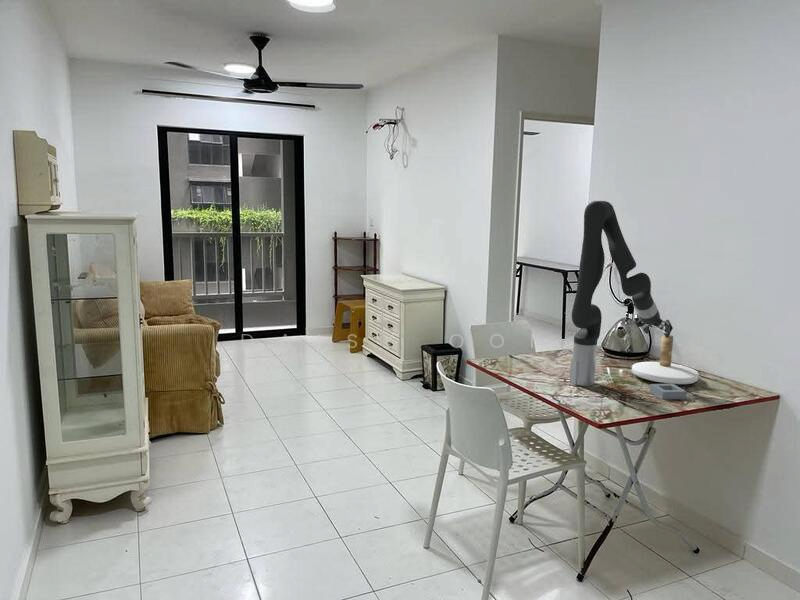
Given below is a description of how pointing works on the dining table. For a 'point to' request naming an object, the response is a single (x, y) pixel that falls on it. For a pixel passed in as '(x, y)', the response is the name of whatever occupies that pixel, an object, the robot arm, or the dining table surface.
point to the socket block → (668, 391)
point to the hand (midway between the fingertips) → (657, 334)
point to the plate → (665, 373)
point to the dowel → (666, 351)
